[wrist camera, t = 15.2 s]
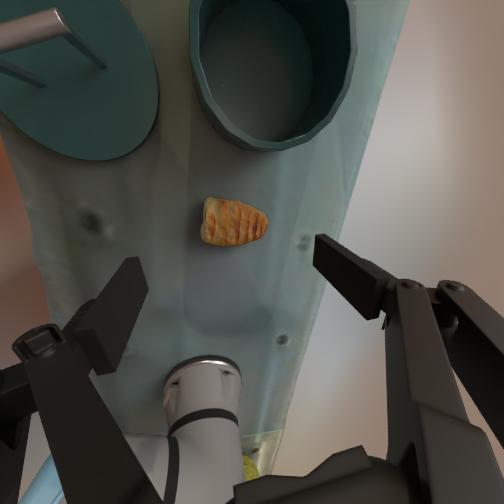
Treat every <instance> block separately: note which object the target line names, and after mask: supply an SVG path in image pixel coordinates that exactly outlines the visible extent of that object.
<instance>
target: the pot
mask: <svg viewBox="0 0 504 504" xmlns="http://www.w3.org/2000/svg"><path fill="white" fill-rule="evenodd" d="M355 6H356V5H355V2H354V0H191V3H190V6H189V37H190V61H191V68H192V75H193V82H194V86H195V89H196V92H197V95H198V99H199V102H200V104H201V107H202V110H203V113H204V115H205V116H206V117H207V119H208V120H209V121H210V123H211V124H212V126H213V127H214V128H215V129H216V130H217V132H218V133H219V134H220V136H222V137H223V138H225V139H226V140H228V141H229V142H231V143H232V144H234V145H236V146H238V147H240V148H241V149H247V150H256V151H283V150H286V149H289V148H291V147H294V146H297V145H300V144H303V143H306V142H308V141H310V140H311V139H312V138H313V137H314V136H315V135H316V134H317V133H319V132H320V131H321V130H322V129H323V128H324V127H325V126H326V125H327V124H329V123H330V122H331V120H332V119H333V117H334V115H335V113H336V112H337V110H338V108H339V106H340V104H341V103H342V101H343V99H344V97H345V95H346V94H347V92H348V89H349V86H350V82H351V77H352V73H353V69H354V64H355V60H356V56H357V50H358V45H357V20H356V7H355Z"/></svg>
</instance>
